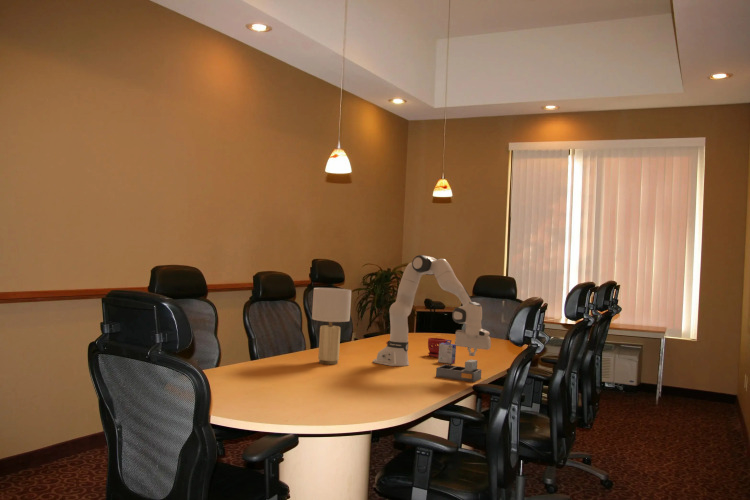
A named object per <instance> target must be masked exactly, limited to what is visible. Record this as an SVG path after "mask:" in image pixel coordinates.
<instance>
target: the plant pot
mask: <svg viewBox="0 0 750 500" xmlns="http://www.w3.org/2000/svg"><path fill="white" fill-rule="evenodd" d="M427 340H428V341H427V347H428V348H427V349H428V351H429V352H427V353H428V355H429V356H430V357H434V358H439V344H440V343H446V340H447V339H446V338H439V337H429V338H428V339H427ZM447 342H449V341H447Z"/></svg>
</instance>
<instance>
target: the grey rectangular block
mask: <svg viewBox="0 0 750 500" xmlns="http://www.w3.org/2000/svg"><path fill="white" fill-rule="evenodd" d="M464 367H465V372H471V373H473V372H475V371H477V369H478V360H477V359H468V360H466V361H465V362H464Z"/></svg>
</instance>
